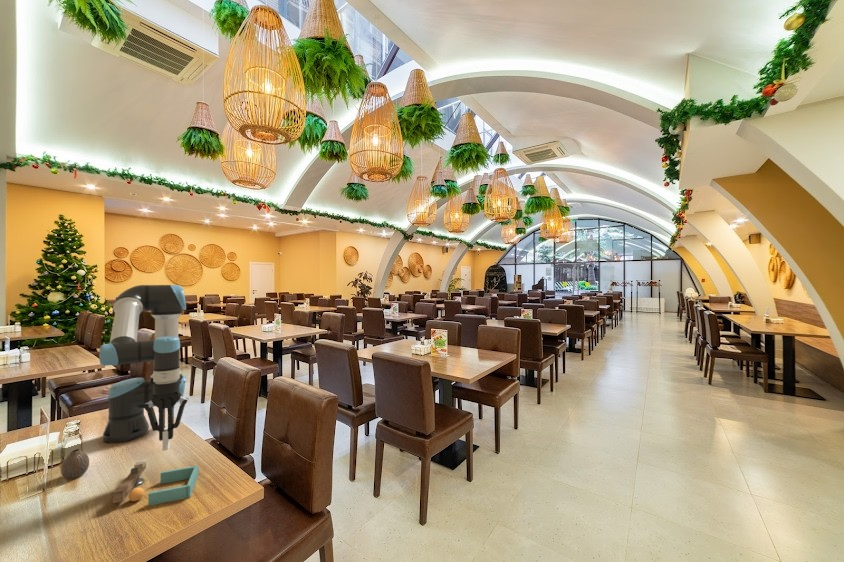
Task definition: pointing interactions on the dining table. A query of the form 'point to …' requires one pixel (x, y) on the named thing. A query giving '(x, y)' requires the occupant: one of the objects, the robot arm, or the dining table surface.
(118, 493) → the lever
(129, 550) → the dining table surface
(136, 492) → the ball
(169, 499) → the teal arch
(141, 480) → the pivot base
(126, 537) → the dining table surface
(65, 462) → the vase
